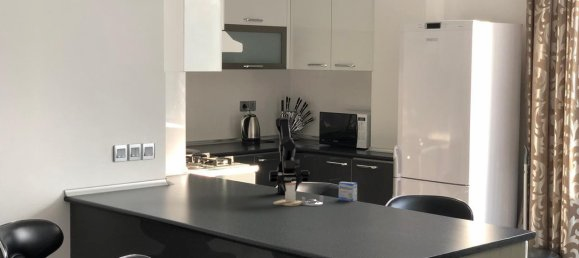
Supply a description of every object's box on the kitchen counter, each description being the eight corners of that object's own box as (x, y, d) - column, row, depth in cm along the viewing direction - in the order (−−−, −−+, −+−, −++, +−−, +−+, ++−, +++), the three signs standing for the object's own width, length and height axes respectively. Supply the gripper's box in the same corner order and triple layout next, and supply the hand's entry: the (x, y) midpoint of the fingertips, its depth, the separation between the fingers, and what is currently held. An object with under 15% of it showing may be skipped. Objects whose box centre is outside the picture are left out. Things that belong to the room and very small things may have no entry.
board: (273, 204, 374) (273, 202, 374) (282, 201, 382) (282, 199, 382) (294, 206, 369) (294, 203, 369) (303, 203, 377) (303, 201, 377)
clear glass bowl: (298, 203, 376) (298, 195, 376) (318, 201, 381) (318, 194, 380) (306, 206, 368) (306, 199, 367) (327, 205, 372) (327, 197, 372)
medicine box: (338, 200, 385) (338, 182, 384) (342, 199, 389) (342, 181, 388) (353, 201, 381) (353, 183, 381) (357, 200, 385) (357, 182, 385)
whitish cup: (283, 200, 374) (283, 183, 373) (290, 198, 377) (290, 182, 376) (290, 201, 370) (290, 184, 370) (297, 200, 374) (297, 183, 373)
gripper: (269, 153, 375) (271, 180, 365) (309, 153, 377) (312, 180, 367) (268, 168, 383) (270, 195, 373) (307, 167, 385) (310, 194, 375)
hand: (290, 190), depth 372 cm, fingers closed on whitish cup, 5 cm apart
